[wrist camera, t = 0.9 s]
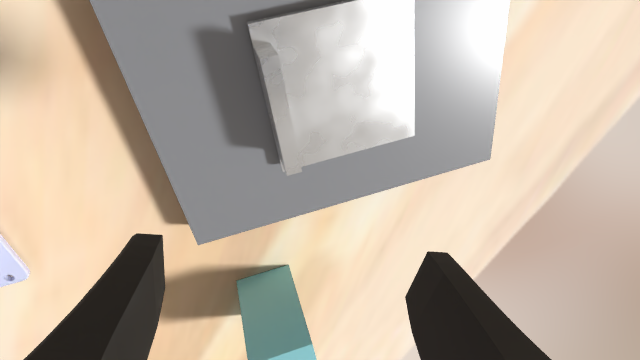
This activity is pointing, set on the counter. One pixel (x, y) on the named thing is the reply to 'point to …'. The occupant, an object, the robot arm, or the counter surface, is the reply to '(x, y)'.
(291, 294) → the plug
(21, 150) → the counter surface
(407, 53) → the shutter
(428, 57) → the socket plate
